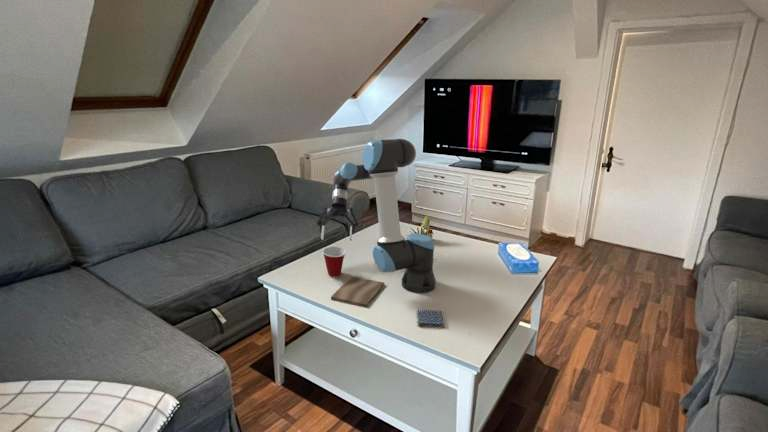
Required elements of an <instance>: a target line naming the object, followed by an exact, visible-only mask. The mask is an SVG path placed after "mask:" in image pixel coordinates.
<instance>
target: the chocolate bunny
mask: <svg viewBox="0 0 768 432" xmlns="http://www.w3.org/2000/svg"><path fill="white" fill-rule="evenodd" d="M430 223H431V218H430V217H429V216H428V215H427V216H426V215H425V217H424V219H423V222H422V223H421V225H420V227H419V229H420V228H424V229H426V230H427V232H428V236H429V237H431V238H432V239H433V235H434V232H433V229H431V227H430Z"/></svg>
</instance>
